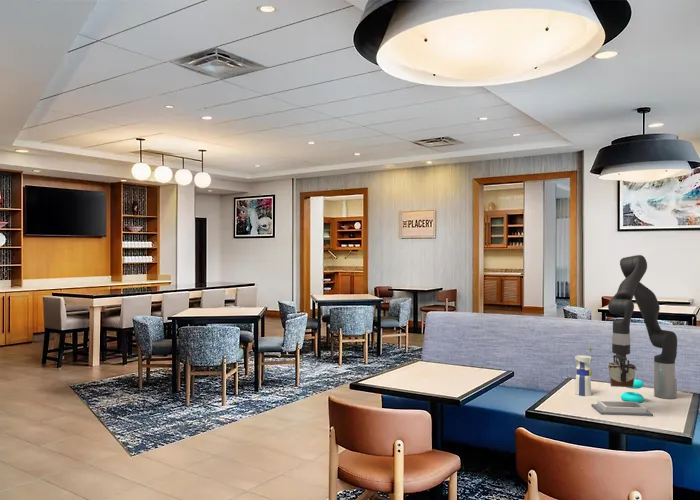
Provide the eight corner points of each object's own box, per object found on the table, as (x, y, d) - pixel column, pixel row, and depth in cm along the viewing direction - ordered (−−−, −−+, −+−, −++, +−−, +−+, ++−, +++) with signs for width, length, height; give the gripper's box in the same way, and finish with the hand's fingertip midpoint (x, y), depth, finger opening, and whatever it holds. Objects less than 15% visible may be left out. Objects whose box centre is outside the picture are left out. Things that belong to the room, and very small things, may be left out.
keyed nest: (640, 407, 265) (640, 401, 265) (653, 416, 251) (653, 409, 251) (591, 406, 267) (591, 399, 267) (601, 414, 254) (601, 407, 254)
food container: (632, 384, 262) (633, 362, 262) (636, 387, 256) (637, 365, 256) (604, 383, 264) (604, 361, 264) (607, 386, 258) (607, 364, 258)
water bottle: (593, 393, 291) (593, 344, 292) (590, 397, 284) (590, 347, 284) (576, 391, 296) (576, 343, 296) (573, 394, 289) (573, 345, 289)
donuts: (648, 381, 275) (632, 383, 272) (648, 402, 275) (632, 404, 271) (632, 377, 284) (616, 378, 281) (632, 397, 284) (616, 398, 281)
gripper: (607, 340, 267) (607, 376, 267) (618, 345, 253) (618, 383, 253) (624, 340, 266) (624, 377, 266) (635, 345, 252) (635, 384, 252)
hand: (621, 380), depth 259 cm, fingers closed on food container, 5 cm apart
